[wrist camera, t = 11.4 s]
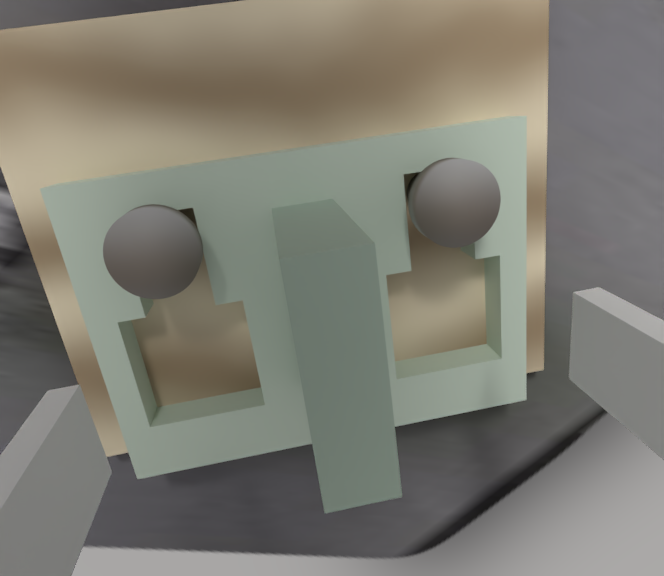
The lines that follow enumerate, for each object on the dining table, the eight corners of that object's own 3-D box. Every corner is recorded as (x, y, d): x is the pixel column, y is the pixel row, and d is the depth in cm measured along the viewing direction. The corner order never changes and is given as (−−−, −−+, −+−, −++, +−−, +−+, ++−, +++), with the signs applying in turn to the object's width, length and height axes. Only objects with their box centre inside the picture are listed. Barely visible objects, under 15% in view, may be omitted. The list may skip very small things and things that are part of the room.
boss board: (-31, 40, 18) (-123, 14, 14) (535, -30, 20) (613, -71, 16) (110, 444, 24) (77, 514, 20) (533, 360, 26) (588, 408, 22)
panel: (57, 183, 19) (-105, 233, 11) (507, 116, 21) (679, 112, 12) (145, 456, 23) (81, 646, 15) (510, 383, 25) (638, 516, 17)
